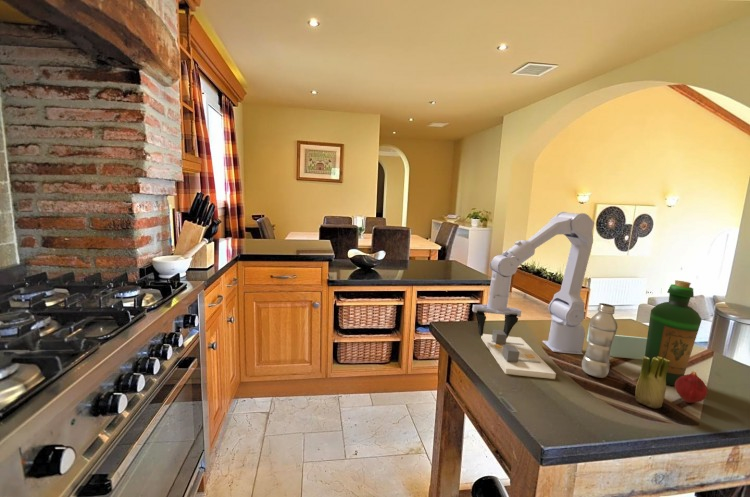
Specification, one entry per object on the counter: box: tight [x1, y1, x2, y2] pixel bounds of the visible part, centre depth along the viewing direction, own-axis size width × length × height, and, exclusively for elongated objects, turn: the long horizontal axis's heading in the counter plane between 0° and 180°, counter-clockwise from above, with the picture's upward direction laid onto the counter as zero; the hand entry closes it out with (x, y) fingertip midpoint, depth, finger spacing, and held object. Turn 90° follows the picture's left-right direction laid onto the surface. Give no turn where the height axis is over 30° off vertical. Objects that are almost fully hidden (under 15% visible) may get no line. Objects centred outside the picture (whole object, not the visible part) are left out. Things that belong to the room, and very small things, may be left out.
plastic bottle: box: [581, 303, 619, 379], centre depth 93 cm, size 6×7×20 cm
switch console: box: [480, 333, 557, 380], centre depth 102 cm, size 13×24×2 cm, turn 178°
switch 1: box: [491, 329, 507, 344], centre depth 107 cm, size 3×4×3 cm
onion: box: [674, 370, 708, 404], centre depth 83 cm, size 6×6×8 cm
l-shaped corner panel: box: [586, 323, 647, 360], centre depth 114 cm, size 12×12×8 cm
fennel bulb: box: [634, 356, 670, 410], centre depth 81 cm, size 6×5×12 cm
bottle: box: [645, 280, 702, 386], centre depth 94 cm, size 11×11×28 cm
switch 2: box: [502, 345, 519, 362], centre depth 96 cm, size 3×4×3 cm
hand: (492, 335), depth 107 cm, fingers open, 7 cm apart
